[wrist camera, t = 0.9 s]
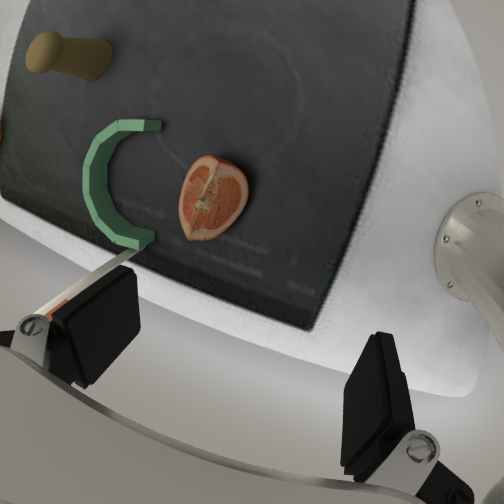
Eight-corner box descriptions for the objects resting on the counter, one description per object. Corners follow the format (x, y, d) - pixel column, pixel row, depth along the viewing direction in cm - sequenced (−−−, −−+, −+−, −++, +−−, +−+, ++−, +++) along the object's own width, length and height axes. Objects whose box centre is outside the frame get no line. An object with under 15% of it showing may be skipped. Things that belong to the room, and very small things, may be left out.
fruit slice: (230, 239, 32) (214, 256, 27) (179, 211, 32) (156, 223, 27) (264, 171, 28) (252, 177, 24) (207, 143, 28) (185, 144, 24)
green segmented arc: (187, 121, 28) (50, 120, 12) (176, 256, 34) (75, 345, 18) (104, 120, 30) (-20, 133, 14) (102, 236, 36) (1, 296, 20)
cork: (114, 34, 25) (52, 17, 15) (110, 75, 27) (43, 66, 17) (83, 47, 26) (23, 37, 16) (79, 84, 29) (16, 82, 19)
